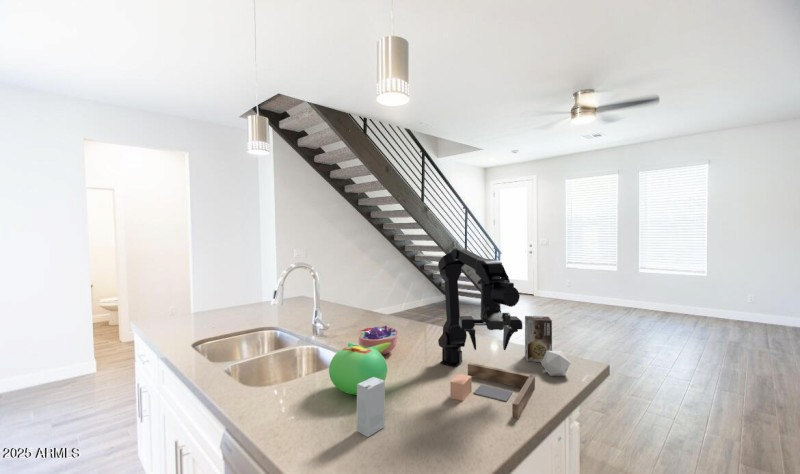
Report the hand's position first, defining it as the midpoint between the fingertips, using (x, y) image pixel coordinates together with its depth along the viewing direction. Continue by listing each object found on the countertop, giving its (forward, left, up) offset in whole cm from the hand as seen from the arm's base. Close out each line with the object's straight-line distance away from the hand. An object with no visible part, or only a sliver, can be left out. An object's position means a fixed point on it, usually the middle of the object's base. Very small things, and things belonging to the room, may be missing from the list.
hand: (489, 349), depth 114 cm
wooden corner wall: (+1, -4, -12) cm, 13 cm away
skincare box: (-18, -39, -12) cm, 45 cm away
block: (-6, -9, -12) cm, 16 cm away
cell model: (-49, +9, -12) cm, 51 cm away
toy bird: (-34, -23, -12) cm, 43 cm away
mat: (+2, -3, -12) cm, 13 cm away
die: (+16, +23, -12) cm, 31 cm away
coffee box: (+8, +35, -12) cm, 38 cm away
